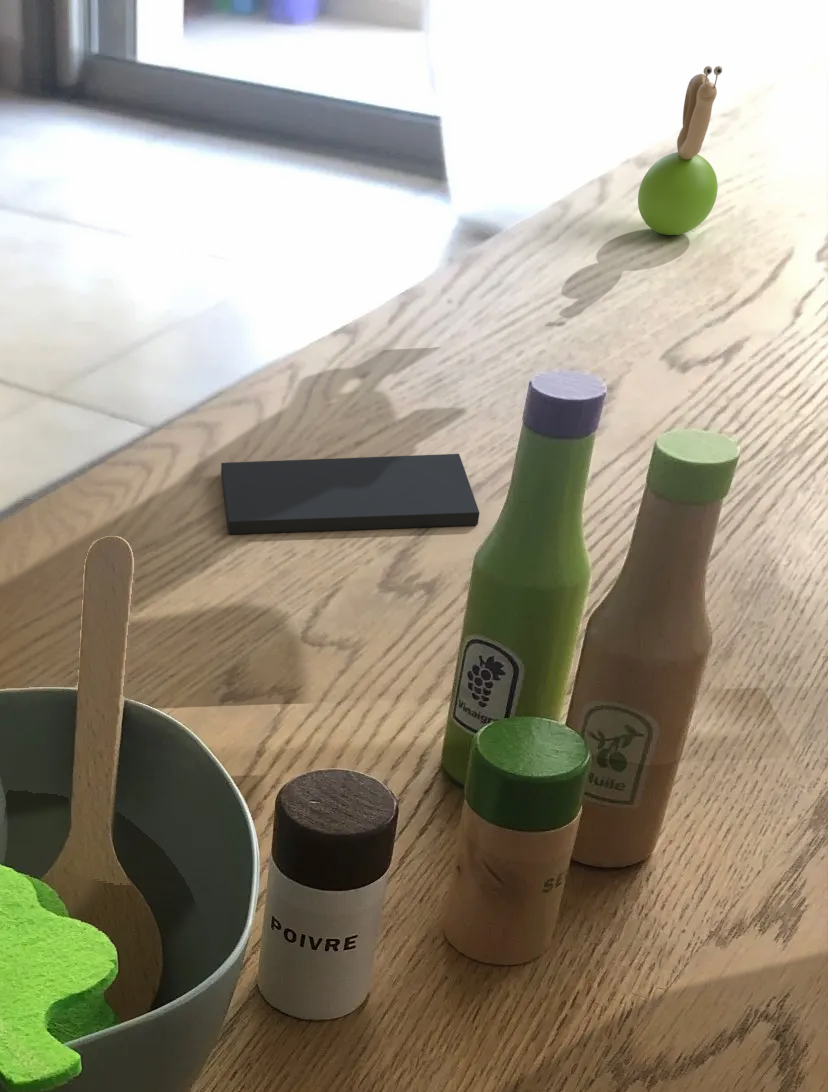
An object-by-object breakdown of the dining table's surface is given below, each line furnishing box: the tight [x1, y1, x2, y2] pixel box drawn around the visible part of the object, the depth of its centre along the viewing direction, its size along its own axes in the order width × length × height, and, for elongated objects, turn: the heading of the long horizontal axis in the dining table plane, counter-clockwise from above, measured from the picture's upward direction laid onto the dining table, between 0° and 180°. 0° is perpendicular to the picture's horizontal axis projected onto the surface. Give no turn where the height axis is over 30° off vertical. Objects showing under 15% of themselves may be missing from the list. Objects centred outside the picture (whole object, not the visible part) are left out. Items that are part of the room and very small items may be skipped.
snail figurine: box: [637, 65, 723, 236], centre depth 115 cm, size 5×6×12 cm
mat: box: [220, 453, 480, 535], centre depth 94 cm, size 14×7×1 cm, turn 90°
